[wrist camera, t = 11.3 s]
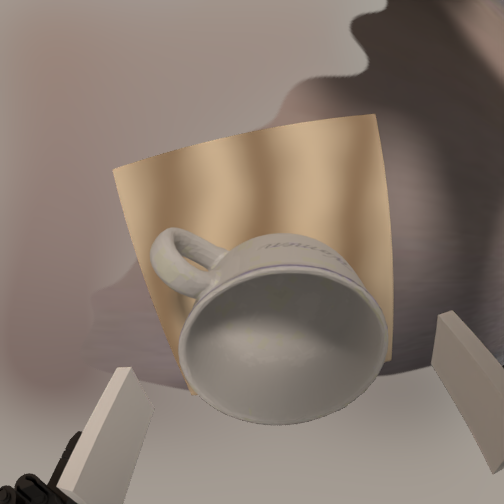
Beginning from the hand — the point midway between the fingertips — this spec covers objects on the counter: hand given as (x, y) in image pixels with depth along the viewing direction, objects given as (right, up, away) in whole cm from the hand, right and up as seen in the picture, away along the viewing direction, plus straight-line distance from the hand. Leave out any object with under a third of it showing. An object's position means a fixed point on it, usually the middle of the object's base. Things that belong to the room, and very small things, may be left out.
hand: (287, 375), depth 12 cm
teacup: (-1, +3, +10) cm, 11 cm away
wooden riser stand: (0, +5, +15) cm, 16 cm away
